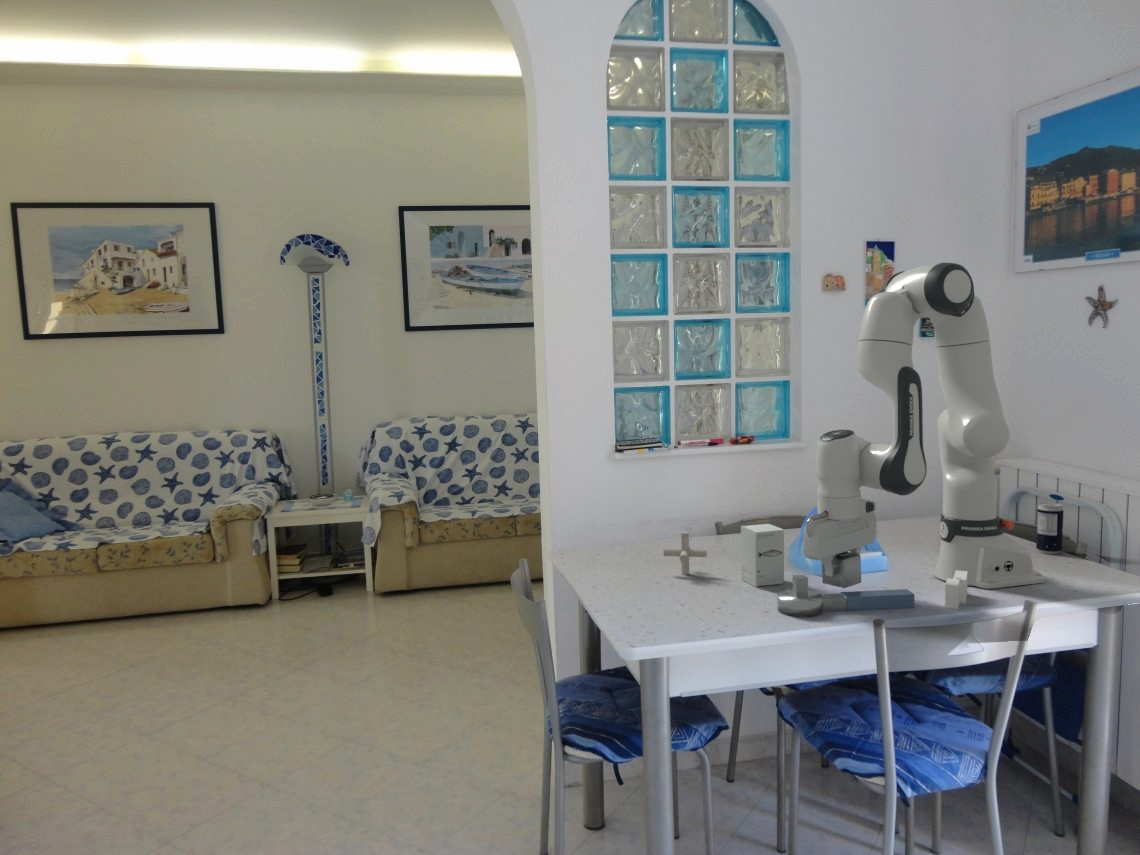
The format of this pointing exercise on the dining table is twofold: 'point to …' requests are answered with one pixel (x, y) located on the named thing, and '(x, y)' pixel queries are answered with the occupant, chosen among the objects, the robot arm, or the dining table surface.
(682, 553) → the pipe connector
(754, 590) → the dining table surface
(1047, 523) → the beverage can
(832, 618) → the dining table surface
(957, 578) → the notched white block
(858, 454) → the robot arm
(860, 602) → the ratchet
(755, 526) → the supplement box
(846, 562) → the dark grey block
